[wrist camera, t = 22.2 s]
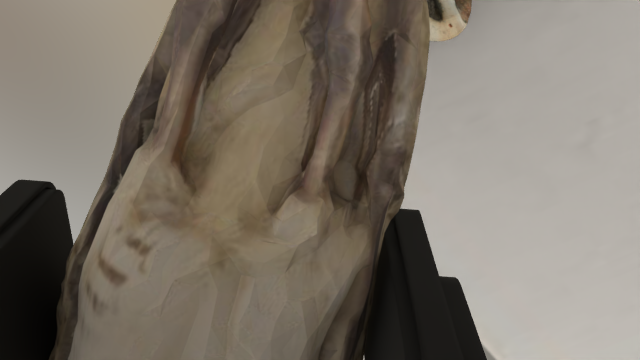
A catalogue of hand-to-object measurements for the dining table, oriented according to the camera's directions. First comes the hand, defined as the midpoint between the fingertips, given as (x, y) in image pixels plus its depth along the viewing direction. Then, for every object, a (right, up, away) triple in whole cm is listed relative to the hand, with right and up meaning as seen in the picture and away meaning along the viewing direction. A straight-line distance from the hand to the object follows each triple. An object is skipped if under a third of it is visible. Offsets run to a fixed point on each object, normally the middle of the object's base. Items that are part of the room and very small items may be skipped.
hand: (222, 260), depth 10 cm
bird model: (-1, -4, -3) cm, 5 cm away
